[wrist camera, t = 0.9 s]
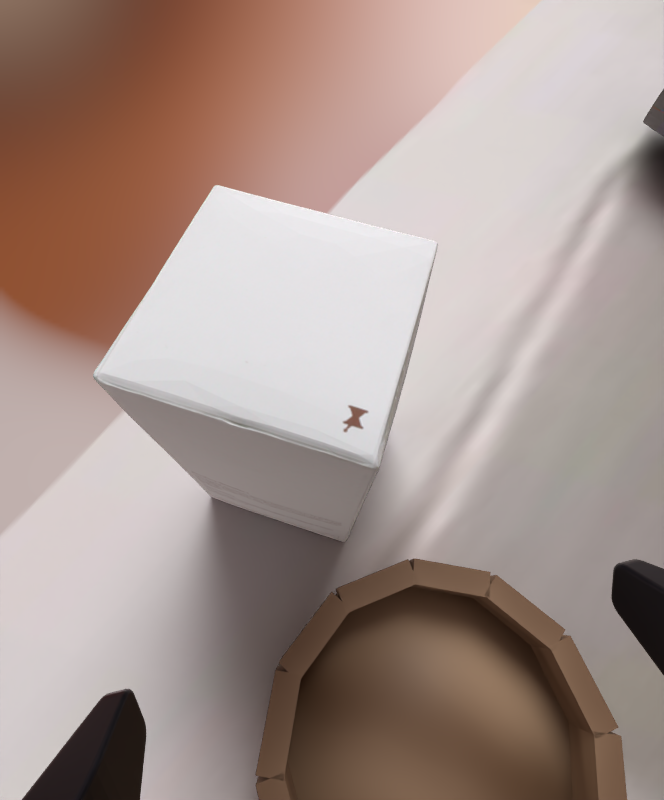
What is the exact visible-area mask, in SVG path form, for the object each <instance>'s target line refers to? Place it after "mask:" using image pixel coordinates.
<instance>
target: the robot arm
mask: <svg viewBox="0 0 664 800" xmlns="http://www.w3.org/2000/svg"><path fill="white" fill-rule="evenodd" d="M612 602H613V605H614V607H615V609H616V611H617V612H618V614H619V615H620V616H621V618H622V619H623V621H624V622H625V623H626V625H627V626H628V627H629V629H630V630H631V631H632V633H633V634H634V636H635V637H636V638H637V640H638V641H639V642H640V644H641V645H642V646H643V648H644V649H645V651H646V652H647V653H648V655H649V656H650V657H651V659H652V660H653V661H654V663H655V664H656V666H657V667H658V668H659V670H660V671H661V672H662V674H663V675H664V569H663V568H660V567H657V566H655V565H652V564H649V563H647V562H644V561H641V560H637V559H636V560H629V561H625V562H622V563H618V564H616V566H615V567H614V571H613V583H612ZM145 744H146V725H145V721H144V718H143V716H142V713H141V710H140V708H139V705H138V703H137V700H136V698H135V695H134V693H133V691H132V690H130V689H124V690H120V691H116V692H112V693H109V694H106V695H105V696H103V697H102V698H101V699H100V701H99V702H98V703H97V704H96V706H95V707H94V708H93V709H92V711H91V712H90V713H89V715H88V716H87V717H86V718H85V720H84V721H83V722H82V723H81V725H80V726H79V727H78V729H77V730H76V731H75V732H74V734H73V735H72V736H71V738H70V739H69V740H68V741H67V743H66V744H65V745H64V746H63V748H62V749H61V750H60V752H59V753H58V754H57V755H56V757H55V758H54V759H53V761H52V762H51V763H50V764H49V766H48V767H47V768H46V769H45V771H44V772H43V773H42V775H41V776H40V777H39V778H38V780H37V781H36V782H35V784H34V785H33V786H32V787H31V789H30V790H29V791H28V792H27V794H26V795H25V796H24V798H23V799H22V800H140V793H141V783H142V773H143V763H144V753H145Z"/></svg>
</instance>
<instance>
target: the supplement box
mask: <svg viewBox="0 0 664 800" xmlns="http://www.w3.org/2000/svg"><path fill="white" fill-rule="evenodd" d="M437 246H438V244H437V242H436V241H433V240H430V239H425V238H421V237H417V236H414V235H409V234H405V233H401V232H397V231H393V230H389V229H385V228H381V227H377V226H373V225H369V224H365V223H361V222H357V221H353V220H349V219H346V218H342V217H338V216H334V215H330V214H326V213H322V212H318V211H314V210H310V209H307V208H302V207H299V206H295V205H291V204H287V203H283V202H279V201H275V200H272V199H268V198H264V197H260V196H257V195H253V194H249V193H245V192H241V191H237V190H234V189H230V188H226V187H223V186H219V185H216V186H214V187H213V189H212V190H211V192H210V194H209V195H208V197H207V198H206V200H205V201H204V203H203V204H202V206H201V208H200V209H199V211H198V212H197V214H196V216H195V217H194V219H193V220H192V222H191V223H190V225H189V227H188V228H187V230H186V232H185V233H184V235H183V237H182V238H181V239H180V241H179V243H178V244H177V246H176V247H175V249H174V251H173V253H172V254H171V255H170V257H169V259H168V260H167V262H166V264H165V265H164V267H163V268H162V270H161V271H160V273H159V275H158V276H157V278H156V280H155V281H154V283H153V285H152V286H151V288H150V289H149V291H148V292H147V294H146V295H145V297H144V298H143V300H142V301H141V303H140V304H139V306H138V307H137V309H136V310H135V312H134V313H133V314H132V316H131V317H130V319H129V321H128V322H127V323H126V325H125V326H124V328H123V329H122V331H121V332H120V334H119V335H118V337H117V338H116V340H115V342H114V343H113V345H112V346H111V348H110V349H109V351H108V352H107V354H106V355H105V357H104V358H103V360H102V361H101V363H100V364H99V365H98V367H97V368H96V370H95V371H94V374H93V377H94V379H95V380H96V381H97V382H98V384H99V385H100V386H101V387H102V388H103V389H104V390H105V391H106V392H107V393H108V394H109V395H110V396H111V397H112V398H113V399H114V400H115V401H116V402H117V403H118V404H119V405H120V407H121V408H122V409H123V410H124V411H125V412H126V413H127V414H128V415H129V416H130V417H131V418H132V419H133V420H134V421H135V422H136V423H137V424H138V425H139V426H140V427H141V428H143V429H144V430H145V431H146V432H147V433H148V434H149V435H150V436H151V437H152V438H153V439H154V440H155V441H156V442H157V443H158V444H159V445H160V446H161V447H162V448H163V449H164V450H165V451H166V452H167V453H168V454H169V455H170V456H171V457H172V458H173V459H174V460H175V461H176V462H177V463H178V464H179V465H180V466H181V467H182V468H183V469H184V470H185V471H186V472H187V473H188V474H189V475H190V476H191V477H192V478H193V479H194V480H195V481H196V482H197V483H198V484H199V485H200V486H201V487H202V488H203V489H204V490H205V491H206V492H207V493H208V494H209V495H210V496H211V497H213V498H215V499H218V500H221V501H223V502H226V503H229V504H231V505H234V506H237V507H240V508H243V509H246V510H248V511H251V512H254V513H257V514H260V515H263V516H266V517H269V518H272V519H275V520H278V521H281V522H284V523H287V524H290V525H293V526H296V527H299V528H302V529H305V530H308V531H311V532H314V533H317V534H320V535H323V536H326V537H329V538H332V539H336V540H338V541H341V542H345V541H346V540H347V538H348V536H349V534H350V531H351V529H352V527H353V525H354V523H355V520H356V518H357V516H358V514H359V512H360V509H361V507H362V505H363V502H364V500H365V498H366V496H367V494H368V492H369V489H370V487H371V485H372V482H373V480H374V478H375V476H376V474H377V472H378V470H379V467H380V464H381V460H382V457H383V453H384V450H385V446H386V443H387V440H388V436H389V433H390V430H391V426H392V423H393V419H394V416H395V413H396V409H397V406H398V402H399V398H400V395H401V391H402V388H403V384H404V380H405V377H406V373H407V369H408V365H409V361H410V357H411V354H412V350H413V346H414V342H415V338H416V334H417V330H418V326H419V322H420V318H421V314H422V309H423V305H424V301H425V297H426V292H427V288H428V284H429V280H430V276H431V271H432V267H433V263H434V259H435V255H436V251H437Z"/></svg>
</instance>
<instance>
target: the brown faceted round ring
mask: <svg viewBox="0 0 664 800" xmlns="http://www.w3.org/2000/svg"><path fill="white" fill-rule="evenodd" d="M336 592H337V594H336V595H334V594H333V593H330V595H329V596H328V597H327V599H326V600H325V601H324V602H323V604H322V605H321V606H320V608H319V609H318V610H317V612H316V613H315V614H314V616H313V617H312V618H311V620H310V621H309V622H308V623H307V625H306V626H305V628H304V629H303V630H302V632H301V633H300V634H299V636H298V637H297V638H296V640H295V641H294V642H293V644H292V645H291V646H290V647H289V649H288V650H287V651H286V653H285V654H284V655H283V657H282V658H281V660H280V661H279V663H280V664H279V665H278V667H277V668H276V670H275V675H274V681H273V686H272V691H271V696H270V702H269V707H268V712H267V717H266V723H265V728H264V733H263V739H262V744H261V749H260V754H259V760H258V765H257V770H256V776H259V777H258V780H257V783H256V789H257V793H258V797H259V800H627V795H626V784H625V773H624V762H623V751H622V740H621V736H619V735H617V734H615V733H613V732H611V731H612V730H614V729H616V728H618V725H617V724H616V722H615V720H614V718H613V716H612V714H611V712H610V710H609V708H608V706H607V704H606V703H605V701H604V699H603V697H602V695H601V693H600V691H599V689H598V687H597V685H596V684H595V682H594V680H593V678H592V676H591V674H590V672H589V670H588V668H587V666H586V665H585V663H584V661H583V659H582V657H581V655H580V653H579V651H578V649H577V647H576V646H575V644H574V642H573V640H572V638H571V636H567V635H563V633H564V631H565V629H564V628H563V627H561V626H560V625H559V624H558V623H556V622H555V621H554V620H553V619H551V618H550V617H549V616H547V615H546V614H545V613H544V612H542V611H541V610H540V609H539V608H537V607H536V606H535V605H534V604H532V603H531V602H530V601H529V600H527V599H526V598H525V597H524V596H522V595H521V594H520V593H519V592H517V591H516V590H515V589H514V588H512V587H511V586H510V585H508V584H507V583H506V582H505V581H503V580H502V579H501V578H500V577H498V576H497V575H493V576H490V572H487V571H481V570H476V569H470V568H465V567H459V566H453V565H448V564H442V563H437V562H431V561H425V560H420V559H412V560H410V561H409V560H408V559H407V560H405V561H403V562H400V563H398V564H395V565H393V566H390V567H388V568H385V569H383V570H380V571H378V572H375V573H373V574H371V575H368V576H366V577H363V578H361V579H358V580H356V581H353V582H351V583H348V584H346V585H344V586H341V587H339V588H337V589H336Z"/></svg>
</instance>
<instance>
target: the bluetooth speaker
mask: <svg viewBox="0 0 664 800" xmlns="http://www.w3.org/2000/svg"><path fill="white" fill-rule="evenodd" d="M643 122H644V123H645V124H646V125H648V126H649V127H650V128H652V129H653V130H654V131H656V132H658V133H659V134H661V135H662V136H664V89H663V91H662V92H661V94H660V95H659V97H658V98H657V100H656V101H655V103H654V104H653V106H652V107H651V109H650V111H649V112H648V114H647V116H646V117H645V119H644V121H643Z"/></svg>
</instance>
